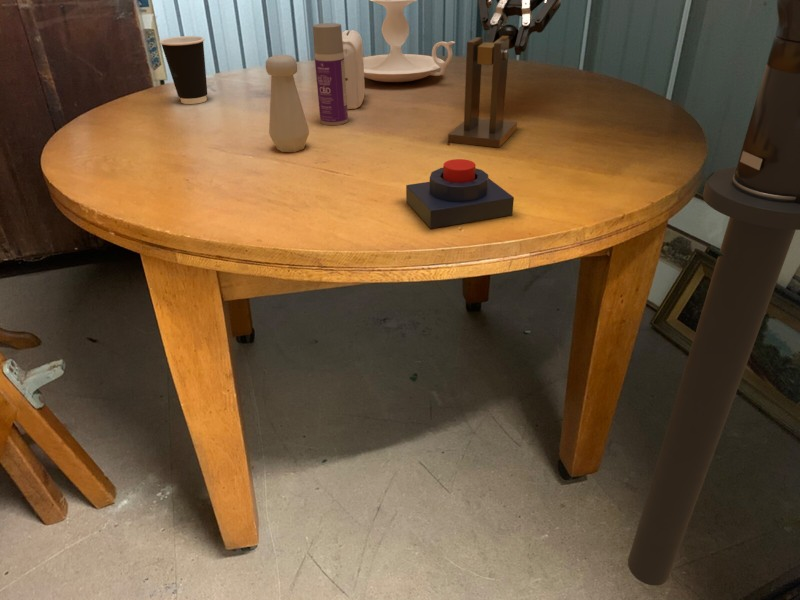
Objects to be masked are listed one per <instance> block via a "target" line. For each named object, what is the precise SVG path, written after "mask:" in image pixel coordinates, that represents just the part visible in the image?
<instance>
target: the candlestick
mask: <svg viewBox="0 0 800 600" xmlns="http://www.w3.org/2000/svg"><path fill="white" fill-rule="evenodd" d="M368 1H370V2H372V3H376V4H378V5H380V6H381V7H384V9H385V10H386V13H385V14H386V15H385V17H384V19H383V22H382V25H381V33H382V37H383V39H384V41H385V42H386V43H387V45H389V46H390V48H389V49H390V50H389V53H388V54H375V55H369V56H363V62H364V79H369V80H372V81H375V82H382V83H405V82H412V81H418V80H421V79H424V78H426V77H427V78H428V76H435V77H438V76H439V77H440V76H443V75H444V74H445V73H446V69H447V66H449V64H450V63H451V62H452V60H453V54H454V53H453V49H452V45H454V44H455V43H456V42H455V41H454V40H451V41H448V42H446V41H439V42H436V43H435V44H434V45H433V46H432V50H431V56H430V55H424V54H414V53H412V54H411V53H403V51H402V46H403V44H405V42H406V41H407V39H408V37H409V34H410V25H409V22H408V19H407V18H406V17H405V13H404V10H405V8H406V7H408V5H410V4H413V3H414V2H417V1H418V0H368ZM440 46H442V47H444V48H445V49H446V52H447V58H446V60H443V59H441V58H439V57H438V56H437V55H438V54H437V51H438V48H439V47H440ZM439 69H440V70H439ZM437 70H439V72H437Z"/></svg>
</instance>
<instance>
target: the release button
mask: <svg viewBox="0 0 800 600" xmlns="http://www.w3.org/2000/svg"><path fill="white" fill-rule="evenodd" d="M442 165H443V166H442V168H443V180H446V181H449V182H453V183H464V182H471V181H473V180H475V168H477V167H476V166H477V165H476V163H475V162H474V161H472V160H471V159H463V158H454V159H448V160H446V161H445V162H444V163H443V164H442Z"/></svg>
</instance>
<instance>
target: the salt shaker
mask: <svg viewBox="0 0 800 600" xmlns="http://www.w3.org/2000/svg"><path fill="white" fill-rule="evenodd" d="M265 71H266V73H267V75H269V76H271V78H270V99H269V100H270V102H269V103H270V104H269V124H268V125H269V128H268V134H269V137H270V139H271V141H272V143H273V145H274V146H275V147H276V149H277V150H278V151H280V152H281V153H297V152H299V151H302V150H304V149H305V146H306V143H307V140H308V138H309V135H310V129H309V125H308V121H307V119H306V116H305V112H304V109H303V105H302V102H301V98H300V95H299V90H298V87H297V85H296V81H295V77H294V76H295V74H297V73H298V63H297V60H296V58H294V56H292V55H288V54H277V55H272V56H269V57H268V58H267V59H266V60H265Z"/></svg>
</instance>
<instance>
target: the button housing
mask: <svg viewBox="0 0 800 600" xmlns="http://www.w3.org/2000/svg"><path fill="white" fill-rule="evenodd" d="M405 190H406V191H405V192H406V193H405V194H406V195H405V197H406V203H407V204H408V205H409V207H410V208H411V209H412V210H413V211H414V213H416V214H417V216H419V218H420V219H421V220H422V221H423V222H424V224H426V225H427V227H428V228H429V229H430V230H431V229H432V230H433V229H439V228H444V227H449V226H455V225H461V224H467V223H473V222H479V221H485V220H491V219H497V218H502V217H509V216H513V211H514V202H515V197H514V196H513V195H512V194H510V193H509V192H508V191H506V190H505V189H504V188H503V187H501V186H500V185H498V184H497V183H496V182H495V181H494V180H492V179H491V178H489V173H487V172H485V171H484V170H483V169H481V168H477V167H476V168H475V180H473V181H471V182H464V183H453V182H449V181H446V180H443V167H440V168H437V169H435V170H432V171H431V173H430V175H429V181H424V182H419V183H417V182H416V183H412V184H411V183H410V184H406V185H405Z"/></svg>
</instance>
